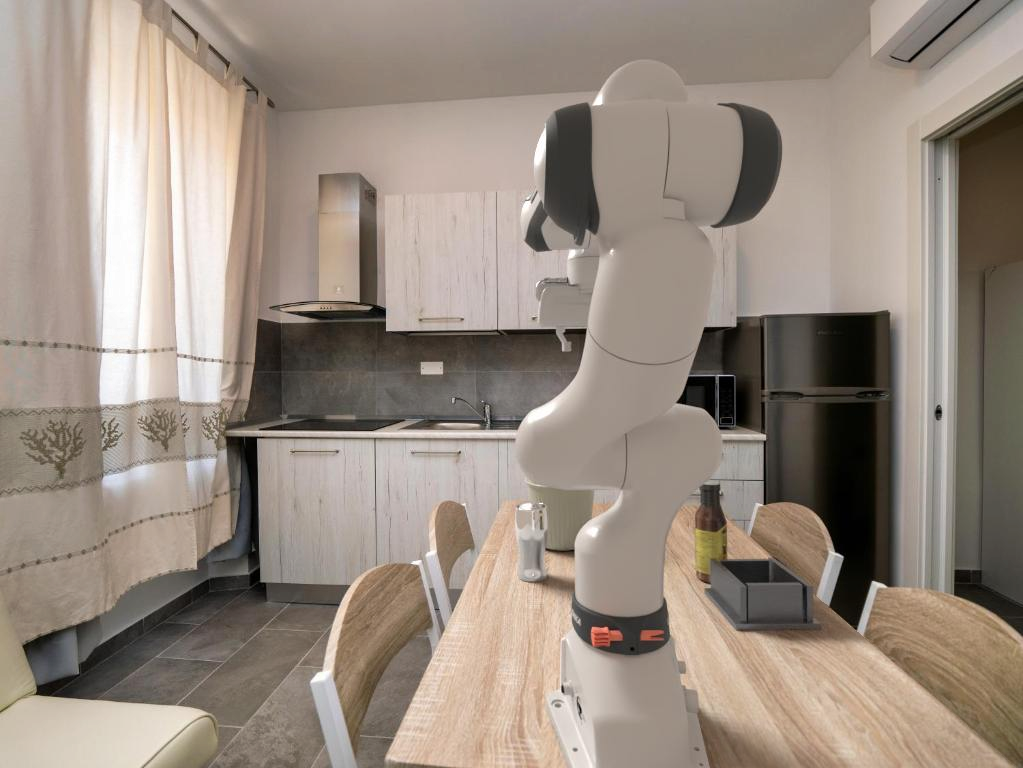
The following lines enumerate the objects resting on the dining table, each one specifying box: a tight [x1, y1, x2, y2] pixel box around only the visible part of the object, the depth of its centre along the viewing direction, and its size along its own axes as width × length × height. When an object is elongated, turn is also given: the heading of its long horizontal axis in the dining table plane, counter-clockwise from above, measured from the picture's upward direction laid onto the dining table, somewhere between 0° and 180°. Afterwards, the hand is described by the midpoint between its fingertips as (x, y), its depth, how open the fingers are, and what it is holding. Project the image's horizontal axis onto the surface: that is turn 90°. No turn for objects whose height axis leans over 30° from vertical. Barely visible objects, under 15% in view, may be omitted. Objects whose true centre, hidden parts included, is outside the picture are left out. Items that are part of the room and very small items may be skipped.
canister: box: [524, 477, 595, 552], centre depth 126 cm, size 18×18×21 cm
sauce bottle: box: [694, 480, 729, 584], centre depth 104 cm, size 6×6×20 cm
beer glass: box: [514, 501, 548, 583], centre depth 106 cm, size 7×7×15 cm
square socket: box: [703, 557, 822, 631], centre depth 90 cm, size 14×14×7 cm
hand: (591, 351), depth 95 cm, fingers open, 8 cm apart
